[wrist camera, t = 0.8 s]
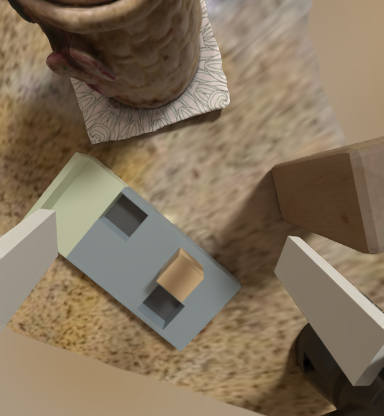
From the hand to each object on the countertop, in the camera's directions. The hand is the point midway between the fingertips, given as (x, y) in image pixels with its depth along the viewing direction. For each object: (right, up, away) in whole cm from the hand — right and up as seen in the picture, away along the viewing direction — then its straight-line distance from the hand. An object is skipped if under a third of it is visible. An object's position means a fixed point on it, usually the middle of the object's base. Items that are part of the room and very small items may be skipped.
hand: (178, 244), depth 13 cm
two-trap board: (-9, -6, +28) cm, 30 cm away
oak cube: (-1, -8, +25) cm, 26 cm away
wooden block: (+20, +6, +26) cm, 33 cm away
